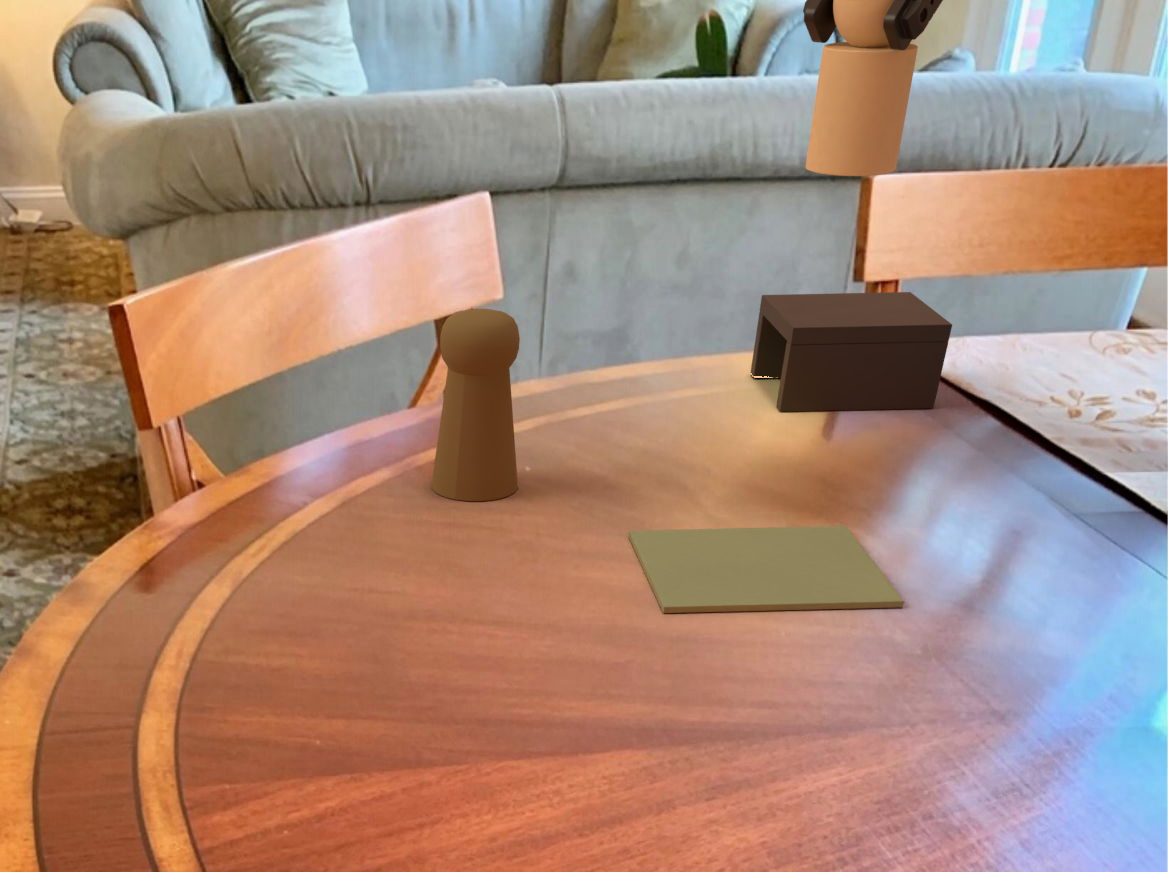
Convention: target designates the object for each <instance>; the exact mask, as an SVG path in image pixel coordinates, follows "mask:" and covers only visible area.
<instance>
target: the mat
mask: <svg viewBox="0 0 1168 872" xmlns="http://www.w3.org/2000/svg"><path fill="white" fill-rule="evenodd" d="M628 538H629V542H630V543H631V546H632V548H633V550H634V552H635V554H636V556H637V559H638V560H639V563H640V565H641V567H642V569H643V572H644V575H645V576H646V578H647V580H648V582H649V585H650V587H651V589H652V591H653V593H654V595H655V598H656V600H657V603H658V604H659V607H660V609H661V611H662V613H663V614H677V613H678V614H682V613H723V612H724V613H726V612H727V613H728V612H763V611H764V612H765V611H767V612H768V611H805V610H806V611H809V610H845V609H847V610H849V609H889V608H890V609H891V608H893V609H894V608H903V607H904V603H905V601H904V599H903V597H901V595H900V594H899V593H898V591H897V590H896V589H895V587H894V586H893V585H892V584H891V582H890V581H889V580H888V578H887V577H886V576H885V574H884V573H883V572H882V571H881V569H880V568H879V567H878V565H877V564H876V563H875V561H874V560H873V559H872V558H871V556H870V555H869V553H868V552H867V551H866V550H865V549H864V547H863V546H862V545H861V543H860V542H859V541H858V540H857V538H856V536H854V534H853V533H852V532H851V530H850V529H849V527H848V526H847V525H821V526H820V525H819V526H818V525H817V526H816V525H815V526H814V525H813V526H776V527H773V526H771V527H738V528H737V527H731V528H726V527H725V528H687V529H686V528H685V529H683V528H682V529H647V530H646V529H643V530H642V529H640V530H628Z"/></svg>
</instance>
